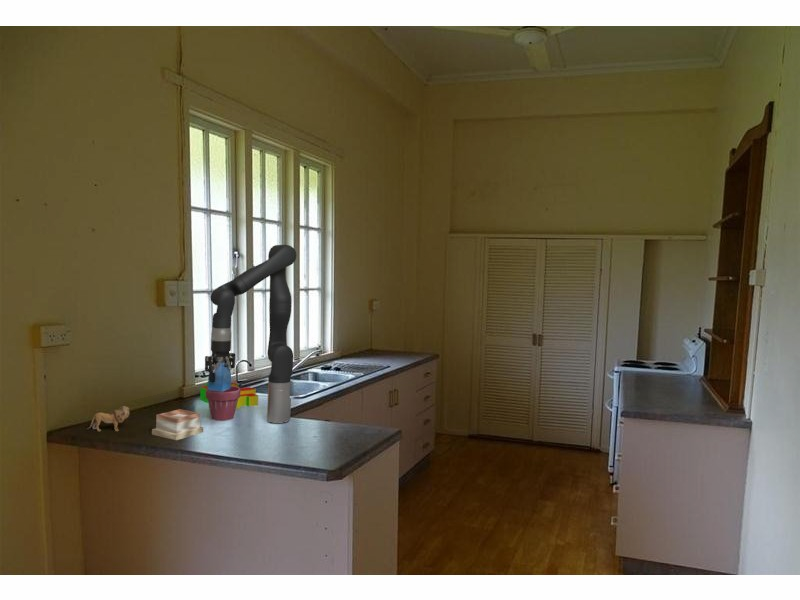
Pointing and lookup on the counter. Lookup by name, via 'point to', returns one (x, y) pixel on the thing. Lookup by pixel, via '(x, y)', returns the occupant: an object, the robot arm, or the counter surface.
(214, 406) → the plant pot
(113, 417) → the lion figurine
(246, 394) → the building blocks toy
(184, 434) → the pedestal
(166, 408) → the counter surface
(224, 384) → the perfume bottle
